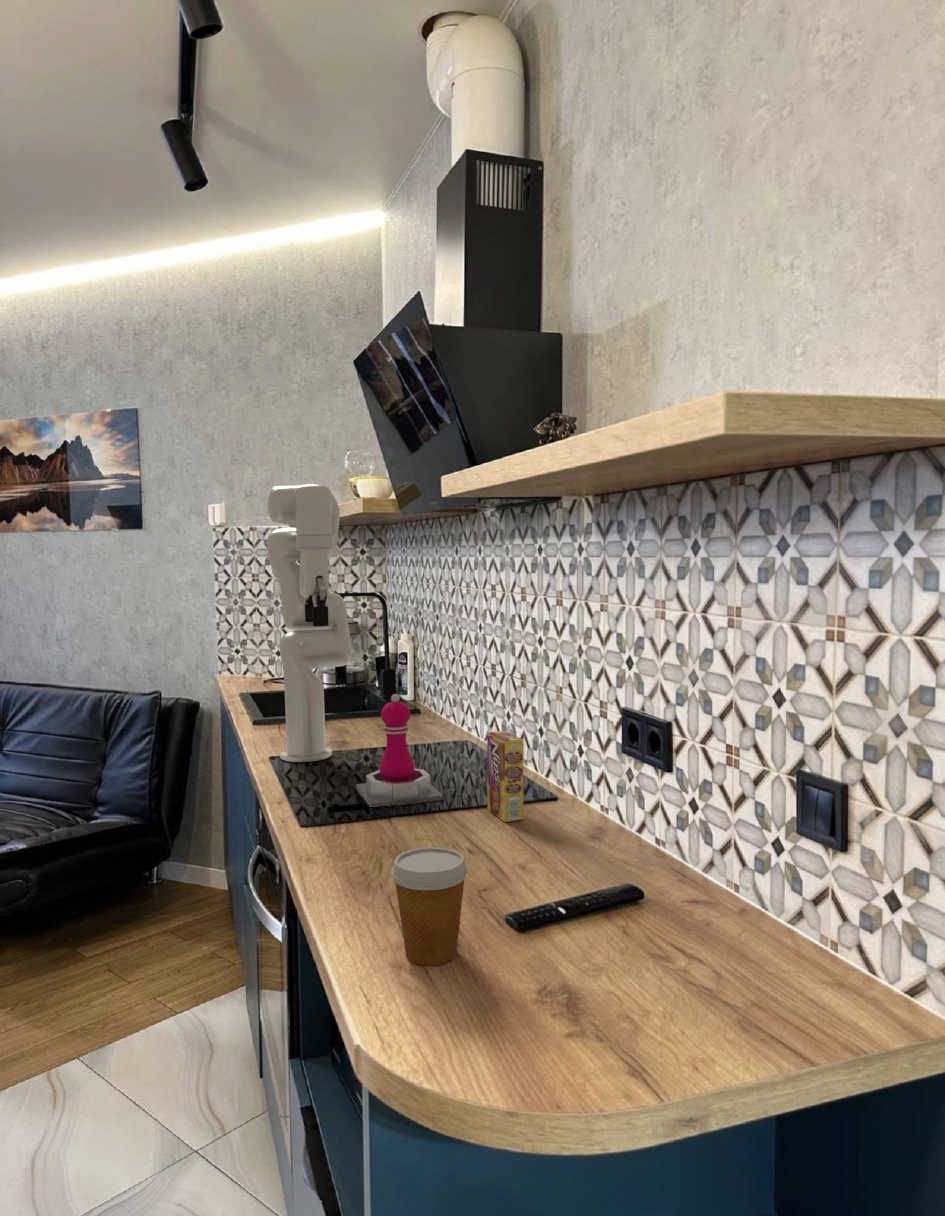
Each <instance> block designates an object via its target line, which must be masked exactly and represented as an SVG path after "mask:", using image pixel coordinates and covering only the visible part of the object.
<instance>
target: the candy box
mask: <svg viewBox="0 0 945 1216" xmlns="http://www.w3.org/2000/svg"><path fill="white" fill-rule="evenodd" d="M486 749H487V750H486V751H487V753H486V754H487V755H486V761H487V763H486V764H487V765H486V766H487V767H486V768H487V770H486V771H487V772H486V773H487V775H486V777H487V778H486V779H487V780H486V781H487V786H486V787H487V788H486V789H487V797H486V798H487V802H486V803H487V811H488V812H490V813H491V814H493V815H494V816H496V817H497V819H499V820H501V821H503V822H504V823H508V822H509V823H510V822H518V821H523V820H524V749H525V748H524V739H522V738H520V737H517V736H516V735H515V734H512V733H510V732H507V731H505V730H500V731H499V730H498V731H489V732H487V734H486Z"/></svg>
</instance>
